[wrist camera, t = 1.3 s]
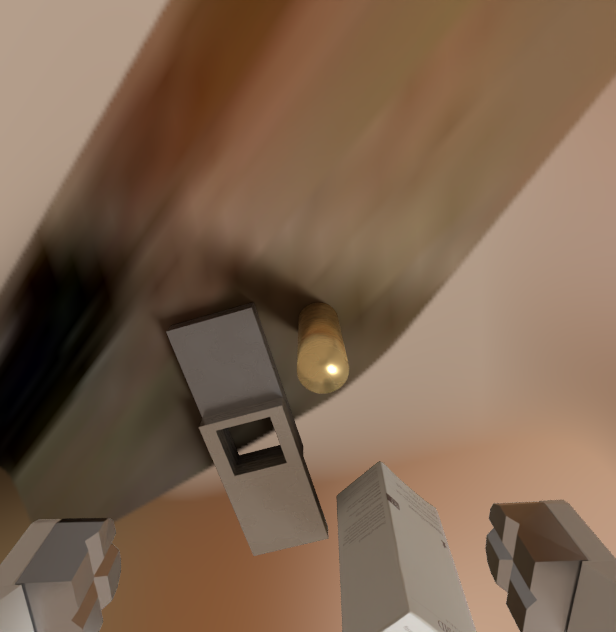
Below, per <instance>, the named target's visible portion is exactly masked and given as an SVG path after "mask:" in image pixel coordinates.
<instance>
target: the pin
mask: <svg viewBox="0 0 616 632" xmlns="http://www.w3.org/2000/svg"><path fill="white" fill-rule="evenodd" d="M297 374H298V378H299V380H300V382H301V383H302V385H303V386H304V387H306V388H307V389H308V390H310V391H312V392H315V393H330V392H333V391H335V390H337V389H339V388H340V387H341V386H342V385H343V384H344V383H345V382H346V380H347V377H348V374H349V365H348V360H347V356H346V351H345V347H344V343H343V338H342V334H341V329H340V325H339V320H338V316H337V313H336V311H335V310H334V309H333V308H332V307H331V306H329V305H328V304H325V303H321V302H316V303H312V304H309V305H308V306H306V307H305V308H304V309H303V310H302V311H301V313H300V316H299V324H298V359H297Z"/></svg>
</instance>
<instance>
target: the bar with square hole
mask: <svg viewBox="0 0 616 632" xmlns="http://www.w3.org/2000/svg"><path fill="white" fill-rule="evenodd" d="M166 333H167V335H168V338H169V340H170V342H171V345H172V347H173V349H174V352H175V354H176V357H177V359H178V361H179V364H180V366H181V368H182V371H183V373H184V375H185V378H186V380H187V383H188V385H189V387H190V390H191V392H192V394H193V397H194V399H195V402H196V404H197V406H198V409H199V411H200V413H201V416H202V420H201V422H200V425H199V429H200V432H201V434H202V436H203V439H204V441H205V443H206V446H207V448H208V450H209V453H210V455H211V457H212V460H213V462H214V464H215V467H216V469H217V471H218V474H219V476H220V478H221V481H222V483H223V485H224V488H225V490H226V492H227V495H228V497H229V499H230V502H231V504H232V506H233V509H234V511H235V513H236V516H237V518H238V520H239V523H240V525H241V527H242V530H243V532H244V534H245V537H246V539H247V541H248V544H249V546H250V548H251V551H252V553H253V555H254V556H256V555H260V554H264V553H268V552H273V551H277V550H281V549H286V548H290V547H294V546H298V545H302V544H307V543H311V542H315V541H320V540H324V539H328V526H327V523H326V520H325V517H324V514H323V511H322V509H321V506H320V503H319V500H318V497H317V494H316V492H315V489H314V486H313V483H312V480H311V477H310V474H309V471H308V468H307V465H306V463H305V460H304V457H303V444H302V441H301V438H300V435H299V432H298V430H297V427H296V424H295V421H294V418H293V415H292V412H291V409H290V406H289V403H288V401H287V398H286V395H285V392H284V389H283V386H282V383H281V380H280V377H279V374H278V372H277V369H276V366H275V363H274V360H273V357H272V354H271V351H270V348H269V345H268V343H267V340H266V337H265V334H264V331H263V328H262V325H261V322H260V319H259V316H258V313H257V311H256V308H255V305H254V302H253V303H249V304H246V305H242V306H239V307H235V308H231V309H228V310H224V311H221V312H217V313H214V314H210V315H207V316H203V317H200V318H196V319H192V320H189V321H185V322H182V323H178V324H175V325H171V326H170V328H169V329H168V330H167V331H166ZM267 417H270V418H271V421H272V423H273V426H274V429H275V432H276V434H277V437H278V440H279V442H280V445H278V446H274V447H270V448H267V449H262V450H259V451H255V452H251V453H247V454H243V455H239V454H238V452H237V449H236V447H235V444H234V442H233V439H232V437H231V434H230V432H229V429H228V427H232V426H236V425H240V424H244V423H248V422H251V421H255V420H259V419H263V418H267Z"/></svg>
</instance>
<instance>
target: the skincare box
mask: <svg viewBox="0 0 616 632" xmlns="http://www.w3.org/2000/svg"><path fill="white" fill-rule="evenodd" d="M337 516H338V538H339V560H340V583H341V605H342V632H476V629H475V626H474V623H473V620H472V617H471V613H470V610H469V607H468V604H467V601H466V598H465V595H464V592H463V589H462V586H461V582H460V579H459V576H458V573H457V570H456V567H455V564H454V561H453V558H452V555H451V552H450V549H449V546H448V543H447V540H446V537H445V534H444V531H443V527H442V525H441V521H440V518H439V515H438V512H437V510H436V508H435V507H433V506H432V505H430V504H429V503H428V502H426V501H425V500H424V499H423V498H421V497H420V496H419V495H418V494H416V493H415V492H414V491H413V490H412V489H410V488H409V487H408V486H407V485H406V484H405V483H404V482H402V481H401V480H400V479H399V478H398V477H397V476H396V475H395V474H394V473H393V472H392V471H391V470H390V469H389V468H388V467H387V466H386V465H385V464H384V463H382V462H380V461H379V462H377V463H376V464H375V465H374V466H372V467H371V468H370V469H369V470H368V471H366V472H365V473H364V474H363V475H362V476H360V477H359V478H358V479H356V480H355V481H354V482H353V483H351V484H350V485H349V486H348V487H347V488H345V489H344V490H343V491H342V492H341V493H339V494H338V495H337Z"/></svg>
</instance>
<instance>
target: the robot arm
mask: <svg viewBox="0 0 616 632" xmlns="http://www.w3.org/2000/svg"><path fill="white" fill-rule="evenodd" d="M489 520H490V521H491V523H492V525H493V527H494V528H493V529H492V530H491V531H490V533H489V534H488V535H487V538H486V555H487V562H488V565H489V568H490V571H491V574H492V576H493V578H494V580H495V582H496V584H497V585H498V586H500V587H501V588H502V589H504V590H505V591H506V592H507V593H508V595H507V601H506V604H507V606H508V608H509V610H510V612H511V614H512V616H513V618H514V620H515V622H516V624H517V626H518V628H519V630H520V632H616V558H615V557H614V556H613V555H612V554H611V552H610V551H609V550H608V549H607V548H606V547H605V546H604V544H603V543H602V542H601V541H600V540H599V538H598V537H597V536H596V535H595V534H594V532H593V531H592V530H591V529H590V528H589V527H588V526H587V524H586V523H585V522H584V521H583V520H582V519H581V517H580V516H579V515H578V514H577V512H576V511H575V510H574V509H573V508H572V507H571V505H570V504H569V503H567V502H566V501H564V500H548V501H539V502H518V503H517V502H516V503H494V504H493V505H492V507H491V509H490V515H489ZM115 534H116V530H115V526H114V522H113V520H111V519H110V518H76V519H39V520H37V521H35V522H33V523H32V524H31V525H30V526H29V528H28V529H27V531H26V532H25V533H24V534H23V536H22V537H21V538H20V539H19V541H18V542H17V544H16V545H15V546H14V548H13V549H12V550H11V552H10V553H9V554H8V556H7V557H6V558H5V560H4V561H3V562H2V563H1V565H0V632H99V630H100V628H101V625H102V623H103V618H102V613H101V610H102V609H103V608H104V607H105V606H106V605H107V604H109V603H110V602H111V601H112V599H113V597H114V594H115V592H116V589H117V587H118V582H119V577H120V572H121V558H120V552H119V549H118V548H117V547H115V546H114V545H113V544H112V541H113V539H114V536H115Z"/></svg>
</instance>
